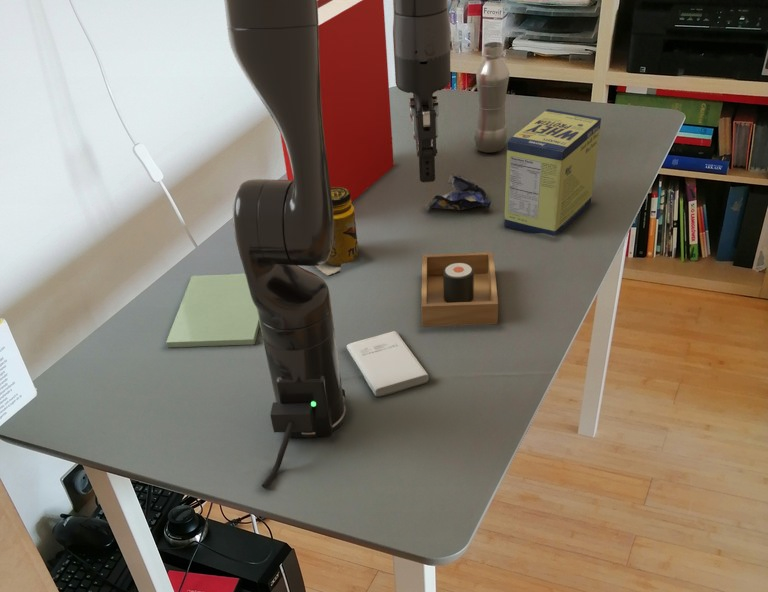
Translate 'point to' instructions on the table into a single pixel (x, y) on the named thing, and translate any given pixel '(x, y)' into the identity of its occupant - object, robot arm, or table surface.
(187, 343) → the sushi plate
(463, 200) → the snack package
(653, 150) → the table surface
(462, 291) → the sushi roll
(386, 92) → the book
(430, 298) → the bento box
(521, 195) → the protein box
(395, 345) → the hard drive
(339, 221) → the condiment
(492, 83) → the plastic bottle
